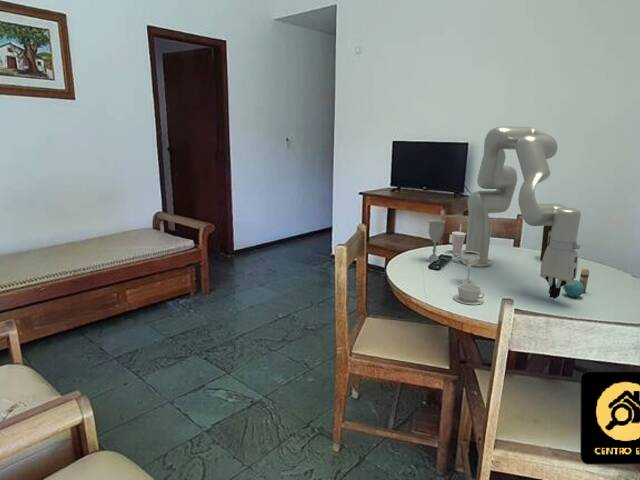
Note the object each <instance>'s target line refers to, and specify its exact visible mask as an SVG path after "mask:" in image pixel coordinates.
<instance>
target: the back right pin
mask: <svg viewBox="0 0 640 480" xmlns="http://www.w3.org/2000/svg"><path fill="white" fill-rule="evenodd" d="M589 276H590V269H586V268H582V269H581V271H580V276H579V277H580V278H579V281H580V282H581V283H582V284H583V286H584V291H583V293H582V294H586V293H587V286H588V281H589Z"/></svg>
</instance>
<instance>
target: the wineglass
mask: <svg viewBox="0 0 640 480" xmlns="http://www.w3.org/2000/svg"><path fill="white" fill-rule="evenodd" d="M461 252H462V255H461V258H460V260H462V262H463V263H464V265H465V264H466V266H467V279H463V280H460V284H474V285H475V281H472V280H469V278H470V271H471V267H473V266H472V265H475V264H477V263H478V262H479V260H480V256H479V254H480V252H478V251H475V250H465V249H462V251H461ZM463 263H462V264H463Z"/></svg>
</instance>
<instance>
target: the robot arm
mask: <svg viewBox="0 0 640 480" xmlns="http://www.w3.org/2000/svg"><path fill="white" fill-rule="evenodd" d="M505 150H515V152H516V156H517V159H518V163H519V166H520V170H521V173H522V177H523V183H522V185H521V187H520V189H519V193H518V200H517V201H518V207H519V211H520V213H521V216H522V219H523V220H524V222H525V223H526V224H527V225H528V226H532V227H544V226H552V230H551V237H550V243H549V246H548V247H547V248H546V251H545V253H544V256H543V260H542V261H541V264H540V274H539V277H540V278H542V279H544V280H545V281H546V282H547V284H548V286H549V289H548V295H549V296H548V297H549V298H550V299H554V300H555V299H557V298H559V297H560V295H561V290H562V287H563V286H564V285H573V284H574V280H576V278H577V275H578V267H579V255H578V250H580V248H581V245H580V244H578V242H577V237H578V234H579V233H578V232H579V229H580V228H579V227H580V221H581V216H582V215H581V214H582V213H581V211H580V209H577V208H573V207H567V206H565V205H563V204H560V203H537V202H538V201H537V199H536V195H535V189H536V186H537V185H538V184H539V183H542V182H544V181H545V180H547V179H548V178H549V177H550V176H551V170H550V167H549V164H548V161H547V160H548V159H551V158H553V157H555V156H556V154H557V152H558V143H557V140H556V139H555V138H554V136H552V135H550V134H547V133H546V132H544V131H541V130H538V129H537V128H534V127H530V126H529V127H528V126H505V125H504V126H497V127H493V128H491V129H490V130H489V131H487V133H486V135H485V138H484V145H483V156H482V158H481V161H480V162H481V163H480V167H479V170H478V176H477V180H476V181H477V182H476V183H477V186H478V187H479V188H480V189H484V190H477V191H474V192H472V193H470V194H469V196H468V199H467V211H468V216H467V217H468V220H467V221H468V222H467V230H466V241H465V249H464V250H475V251H478V252H480V254H479V256H480V260H479V262H478V263H477V264H475V265H472V266H471V267H475V268H476V267H477V268H486V267H490V266H491V265H492V261H491V260H490V259H488V258H489V251H490V242H491V235H492V233H491V232H492V227H493V226H492V221H491V218H490V217H489V214H500V213H504V212H506V211H508V210H509V208H510V205H511V203H512V200H513V196H514V194H515V190H516V187H517V183H518V172H517V171H516V169H515V168H514V167H513V166H511V165H505V163H506V158H507V157H506V152H505ZM452 255H453V258H457V259H460V263H462V264H464V263H463V262H462V260H461V255H462V251H461V253H453V254H452ZM464 265H466V264H464ZM466 266H467V265H466Z"/></svg>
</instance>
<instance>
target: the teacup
mask: <svg viewBox="0 0 640 480" xmlns="http://www.w3.org/2000/svg"><path fill="white" fill-rule="evenodd" d="M457 291H458V293H456V294H454V295H453V296H452V298H453V300H455V301H456V302H459V303H462V304H465V305H474V306H475V305H481V304H484V302H485V300H484V297H485V292H484V291H482V288H481V286H479V285H477V284H475V283H474V284H463V283H460V284H458V285H457ZM480 295H482V296H480Z"/></svg>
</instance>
